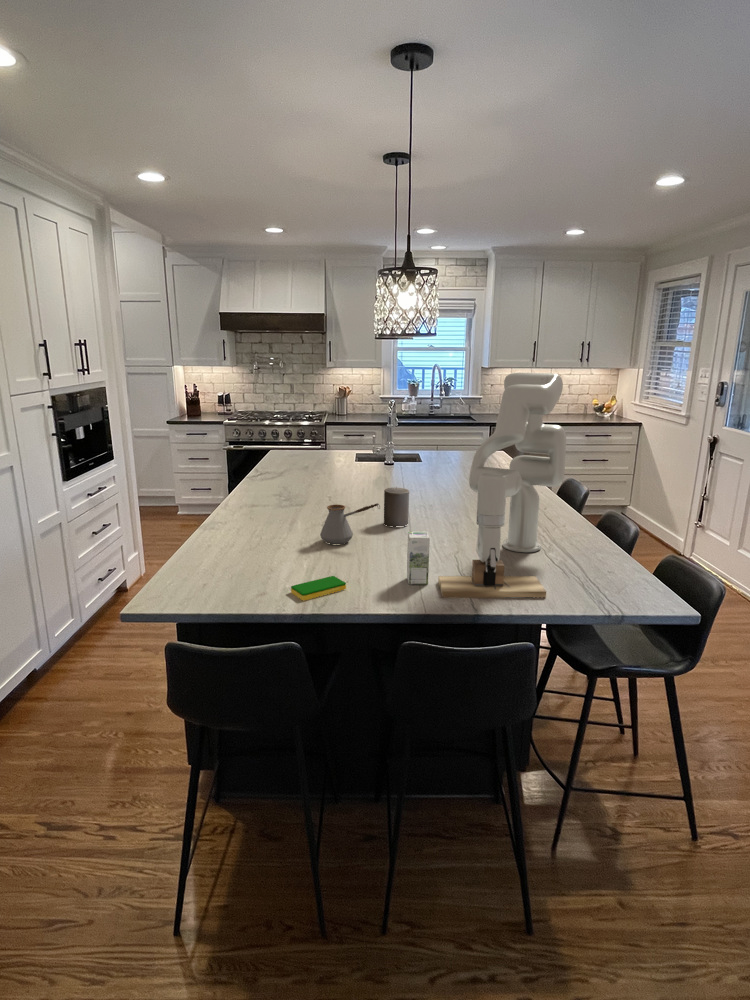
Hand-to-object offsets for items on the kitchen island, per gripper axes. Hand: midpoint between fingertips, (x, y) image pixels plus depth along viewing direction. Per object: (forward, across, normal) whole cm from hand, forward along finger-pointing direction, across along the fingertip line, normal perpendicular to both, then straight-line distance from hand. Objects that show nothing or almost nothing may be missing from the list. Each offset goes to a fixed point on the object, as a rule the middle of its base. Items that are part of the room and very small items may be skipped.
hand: (487, 580), depth 161 cm
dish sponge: (+3, +2, -47) cm, 47 cm away
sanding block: (+1, 0, 0) cm, 1 cm away
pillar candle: (+3, -64, -24) cm, 68 cm away
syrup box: (+3, -6, -19) cm, 20 cm away
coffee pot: (+3, -40, -40) cm, 57 cm away
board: (+3, 0, +1) cm, 3 cm away
